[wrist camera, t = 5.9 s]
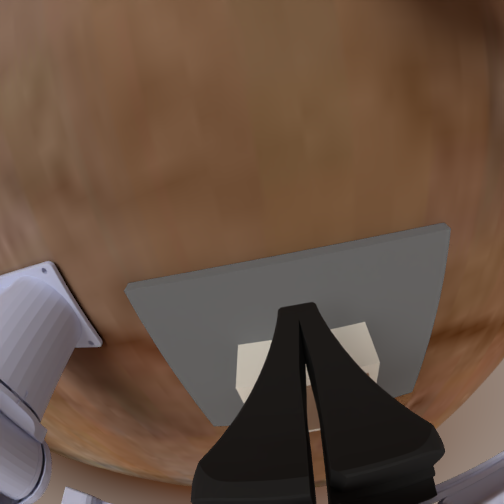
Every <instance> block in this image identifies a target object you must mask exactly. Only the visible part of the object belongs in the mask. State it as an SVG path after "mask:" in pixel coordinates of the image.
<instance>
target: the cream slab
mask: <svg viewBox="0 0 504 504" xmlns="http://www.w3.org/2000/svg"><path fill="white" fill-rule="evenodd" d="M330 330H331V332H332V333H333V334H334V336H335V337H336V338H337V340H338V341H339V343H340V344H341V345H342V347H343V348H344V349H345V350H346V352H347V353H348V354H349V355H350V356H351V358H352V359H353V360H354V361H355V362H356V363H357V364H358V365H359V367H360V368H361V369H362V370H363V371H364V372H365V373H366V374H367V375H368V376H369V377H370V378H371V379H372V380H373V381H375V382H376V383H377V377H378V372H379V365H380V361H379V358H378V356H377V353H376V350H375V347H374V345H373V342H372V339H371V336H370V334H369V331H368V328H367V326H366V323H365V322H362V323H357V324H353V325H348V326H344V327H339V328H334V329H330ZM271 342H272V340H268V341H262V342H255V343H248V344H241V345H238V355H237V373H236V389H237V391H238V393H239V395H240V397H241V399H242V401H243V403H245V402H246V400H247V398H248V397H249V395H250V393H251V391H252V389H253V387H254V385H255V383H256V381H257V379H258V377H259V375H260V372H261V370H262V367H263V365H264V362H265V360H266V357H267V355H268V352H269V349H270V345H271ZM306 388H307V418H308V429H309V432H311V431H317V430H320V423H319V417H318V412H317V408H316V404H315V400H314V395H313V391H312V387H311V383H310V379H309V375H308V371H307V367H306Z"/></svg>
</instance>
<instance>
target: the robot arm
mask: <svg viewBox="0 0 504 504" xmlns="http://www.w3.org/2000/svg"><path fill="white" fill-rule="evenodd" d="M102 343H103V341H102V339H101V338H100V336H99V335H98V334H97V332H96V331H95V329H94V328H93V326H92V325H91V323H90V322H89V320H88V319H87V317H86V316H85V314H84V313H83V311H82V310H81V308H80V307H79V305H78V303H77V302H76V300H75V299H74V297H73V295H72V294H71V292H70V290H69V289H68V287H67V285H66V284H65V282H64V280H63V278H62V277H61V275H60V273H59V271H58V269H57V268H56V266H55V264H54V263H53V262H51V261H46V262H43V263H40V264H36V265H33V266H30V267H26V268H23V269H20V270H16V271H13V272H10V273H7V274H3V275H0V504H33V503H34V502H36V501H37V500H38V499H39V498H40V497H41V496H42V495H43V494H44V492H45V491H46V489H47V487H48V485H49V482H50V478H51V472H52V471H51V470H52V462H51V461H52V460H51V453H50V449H49V447H48V445H47V443H46V441H45V440H44V438H45V435H46V433H47V429H46V428H45V427H44V426H42V425H41V423H40V422H41V420H42V417H43V415H44V412H45V410H46V408H47V405H48V403H49V401H50V398H51V396H52V394H53V392H54V390H55V387H56V385H57V383H58V381H59V379H60V377H61V375H62V372H63V370H64V368H65V366H66V364H67V362H68V360H69V358H70V356H71V354H72V352H73V350H74V348H81V347H101V345H102ZM306 367H307V371H308V375H309V379H310V383H311V387H312V391H313V395H314V400H315V404H316V408H317V412H318V417H319V423H320V431H321V439H322V447H323V455H324V464H325V473H326V483H327V493H328V504H433V503H435V502H438V501H439V502H438V504H504V451H502V452H501V453H499V454H497V455H496V456H494V457H492V458H491V459H489V460H487V461H485V462H483V463H481V464H480V465H478V466H476V467H474V468H472V469H470V470H468V471H466V472H464V473H462V474H460V475H458V476H456V477H453V478H451V479H449V480H447V481H444V482H442V483H440V484H437V485H435V483H434V479H433V476H435V470H434V467H433V465H434V464H435V463H436V462H437V461H438V460H440V459H441V458H442V456H443V455H444V453H445V449H444V445H443V442H442V440H441V438H440V436H439V434H438V432H437V431H436V429H435V427H434V426H433V425H432V424H431V423H429V422H428V421H426V420H424V419H423V418H421V417H420V416H418V415H416V414H415V413H413V412H412V411H410V410H409V409H408V408H406V407H405V406H404V405H402V404H401V403H399V402H398V401H397V400H396V399H394V398H393V397H392V396H391V395H390V394H388V393H387V392H386V391H385V390H384V389H382V388H381V387H380V386H379V385H378V384H377V383H376V382H375V381H373V380H372V379H371V378H370V377H369V376H368V375H367V374H366V373H365V372H364V371H363V370H362V369H361V368H360V367H359V365H358V364H357V363H356V362H355V361H354V360H353V359H352V358H351V356H350V355H349V354H348V353H347V352H346V350H345V349H344V348H343V347H342V345H341V344H340V343H339V341H338V340H337V338H336V337H335V336H334V334H333V333H332V332H331V330H330V329H329V327H328V326H327V324H326V322H325V321H324V319H323V317H322V316H321V314H320V312H319V310H318V308H317V305H316V303H314V302H309V303H303V304H297V305H292V306H286V307H280V308H279V309H278V315H277V322H276V327H275V331H274V335H273V339H272V342H271V345H270V349H269V352H268V355H267V357H266V360H265V362H264V365H263V367H262V370H261V372H260V375H259V377H258V379H257V381H256V383H255V385H254V387H253V389H252V391H251V393H250V395H249V397H248V398H247V400H246V402H245V403H244V405H243V407H242V408H241V410H240V412H239V413H238V415H237V416H236V418H235V419H234V420H233V422H232V423H231V425H230V426H229V427H228V429H227V430H226V431H225V433H224V434H223V435H222V437H221V438H220V439H219V440H218V441H217V443H216V444H215V445H214V446H213V447H212V448H211V449H210V450H209V452H208V453H207V454H206V455H205V456H204V457H203V458H202V459H201V460H200V461H199V463H198V465H197V468H196V471H195V475H194V478H193V483H192V493H191V502H192V504H316V495H315V484H314V475H313V465H312V456H311V446H310V437H309V429H308V418H307V388H306ZM440 500H441V501H440ZM61 504H112V503H108V502H105V501H102V500H101V499H98V498H96V497H94V496H92V495H89V494H87V493H84V492H81V491H78V490H76V489H73V488H70V487H66V488H65V491H64V495H63V499H62V503H61Z"/></svg>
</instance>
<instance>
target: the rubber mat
mask: <svg viewBox="0 0 504 504" xmlns="http://www.w3.org/2000/svg"><path fill="white" fill-rule="evenodd" d="M450 231H451V228H450V227H449V226H447V225H446V224H445V223H440V224H435V225H430V226H425V227H420V228H415V229H410V230H405V231H400V232H395V233H390V234H385V235H380V236H375V237H370V238H365V239H360V240H355V241H350V242H345V243H340V244H335V245H330V246H324V247H319V248H314V249H309V250H304V251H299V252H293V253H288V254H283V255H278V256H273V257H267V258H262V259H257V260H252V261H246V262H241V263H236V264H230V265H225V266H220V267H214V268H209V269H204V270H198V271H193V272H187V273H182V274H176V275H171V276H166V277H160V278H155V279H149V280H144V281H138V282H132V283H128V285H127V287H126V288H125V290H124V292H125V293H126V295H127V297H128V299H129V301H130V302H131V304H132V306H133V308H134V310H135V311H136V313H137V315H138V316H139V318H140V320H141V321H142V323H143V325H144V326H145V328H146V330H147V331H148V333H149V335H150V336H151V338H152V339H153V341H154V343H155V344H156V346H157V347H158V349H159V351H160V352H161V354H162V355H163V357H164V358H165V360H166V361H167V363H168V364H169V366H170V367H171V369H172V370H173V372H174V373H175V374H176V376H177V377H178V379H179V380H180V382H181V383H182V384H183V386H184V387H185V389H186V390H187V391H188V393H189V394H190V396H191V397H192V398H193V400H194V401H195V402H196V404H197V405H198V406H199V408H200V409H201V410H202V412H203V413H204V414H205V415H206V417H207V418H208V419H209V421H210V422H211V423H212V424H213V426H230V425H231V423H232V422H233V420H234V419H235V418H236V416H237V415H238V413H239V412H240V410H241V408H242V407H243V405H244V403H243V401H242V399H241V397H240V395H239V393H238V391H237V389H236V373H237V355H238V345H241V344H248V343H255V342H262V341H268V340H272V339H273V335H274V331H275V327H276V322H277V315H278V309H279V308H280V307H286V306H292V305H297V304H303V303H309V302H314V303H316V305H317V308H318V310H319V312H320V314H321V316H322V317H323V319H324V321H325V322H326V324H327V326H328V327H329V329H334V328H339V327H344V326H348V325H353V324H357V323H362V322H365V323H366V326H367V328H368V331H369V334H370V336H371V339H372V342H373V345H374V347H375V350H376V353H377V356H378V358H379V361H380V365H379V372H378V377H377V384H378V385H379V386H380V387H381V388H382V389H384V390H385V391H386V392H387V393H388V394H390V395H391V396H392V397H393V398H394V397H398V396H401V395H404V394H407V393H411V392H412V391H413V388H414V386H415V383H416V380H417V377H418V374H419V371H420V368H421V365H422V362H423V359H424V356H425V353H426V350H427V346H428V343H429V339H430V336H431V332H432V328H433V324H434V320H435V316H436V312H437V308H438V304H439V299H440V294H441V289H442V284H443V279H444V273H445V268H446V261H447V255H448V247H449V240H450Z"/></svg>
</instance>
